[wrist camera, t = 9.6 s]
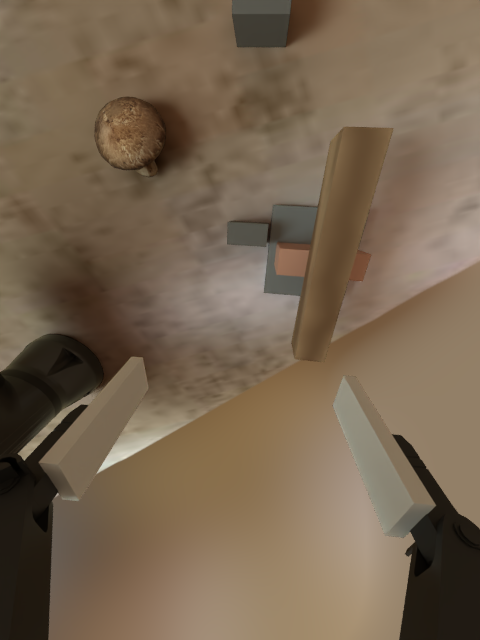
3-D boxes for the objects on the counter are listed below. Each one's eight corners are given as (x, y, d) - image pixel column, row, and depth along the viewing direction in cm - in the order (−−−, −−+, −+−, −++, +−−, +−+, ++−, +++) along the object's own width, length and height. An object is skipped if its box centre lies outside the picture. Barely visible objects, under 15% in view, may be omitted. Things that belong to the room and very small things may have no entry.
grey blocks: (231, 240, 30) (227, 244, 27) (238, 7, 20) (233, -36, 17) (265, 243, 30) (266, 246, 26) (289, 7, 20) (295, -38, 17)
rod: (291, 343, 29) (294, 359, 26) (330, 141, 19) (344, 126, 16) (317, 345, 29) (324, 362, 26) (371, 142, 19) (393, 128, 16)
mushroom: (157, 200, 26) (118, 153, 20) (114, 181, 28) (68, 134, 22) (190, 148, 26) (161, 86, 20) (145, 133, 29) (108, 73, 23)
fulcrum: (264, 290, 33) (264, 308, 27) (273, 205, 28) (276, 202, 22) (341, 297, 32) (359, 316, 26) (366, 210, 27) (396, 208, 21)
